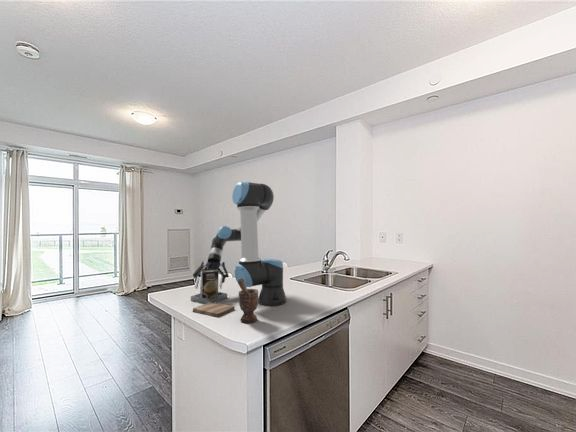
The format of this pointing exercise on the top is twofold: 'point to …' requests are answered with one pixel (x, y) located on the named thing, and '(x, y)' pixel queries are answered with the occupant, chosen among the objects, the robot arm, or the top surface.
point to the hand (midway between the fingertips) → (208, 287)
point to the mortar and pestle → (247, 302)
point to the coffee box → (209, 284)
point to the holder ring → (205, 300)
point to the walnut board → (213, 309)
